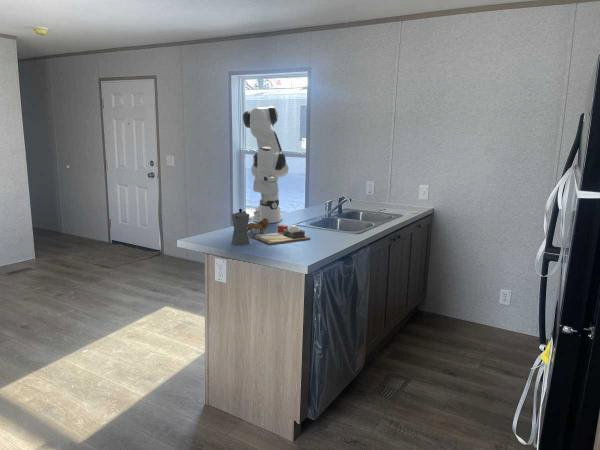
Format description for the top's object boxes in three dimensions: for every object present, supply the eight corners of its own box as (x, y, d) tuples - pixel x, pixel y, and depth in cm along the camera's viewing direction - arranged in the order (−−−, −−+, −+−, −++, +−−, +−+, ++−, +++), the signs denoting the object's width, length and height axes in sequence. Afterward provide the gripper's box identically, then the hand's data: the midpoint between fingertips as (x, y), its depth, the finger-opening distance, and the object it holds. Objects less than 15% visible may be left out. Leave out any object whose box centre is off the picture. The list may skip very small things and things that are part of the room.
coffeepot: (245, 246, 221) (245, 211, 217) (227, 245, 222) (227, 210, 219) (253, 239, 236) (253, 206, 232) (236, 238, 237) (236, 205, 234)
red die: (277, 232, 255) (277, 225, 254) (282, 231, 258) (282, 224, 257) (283, 233, 252) (283, 226, 251) (287, 232, 256) (287, 225, 255)
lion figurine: (266, 232, 255) (266, 217, 253) (270, 234, 250) (270, 218, 248) (242, 234, 248) (242, 218, 246) (245, 236, 243) (245, 220, 242)
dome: (285, 234, 245) (286, 224, 243) (295, 233, 248) (295, 223, 247) (292, 237, 239) (292, 226, 238) (301, 235, 243) (302, 225, 242)
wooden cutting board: (251, 237, 241) (251, 230, 240) (290, 232, 255) (290, 225, 254) (269, 245, 225) (269, 237, 225) (310, 239, 240) (310, 232, 239)
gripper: (250, 175, 249) (250, 199, 252) (270, 179, 233) (269, 204, 236) (260, 174, 253) (259, 198, 256) (280, 178, 237) (279, 204, 240)
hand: (264, 201), depth 246 cm, fingers closed
